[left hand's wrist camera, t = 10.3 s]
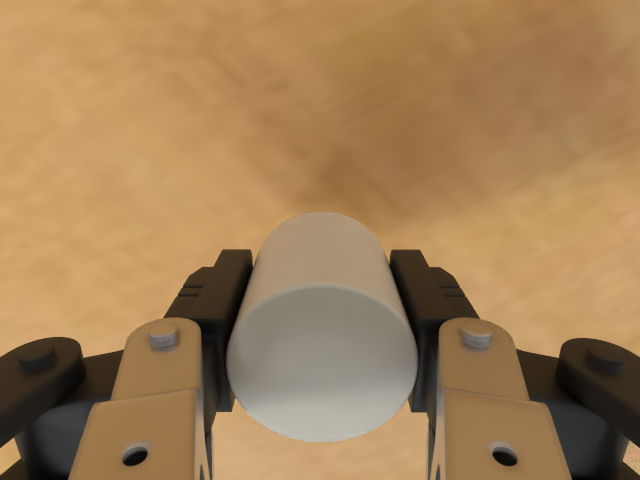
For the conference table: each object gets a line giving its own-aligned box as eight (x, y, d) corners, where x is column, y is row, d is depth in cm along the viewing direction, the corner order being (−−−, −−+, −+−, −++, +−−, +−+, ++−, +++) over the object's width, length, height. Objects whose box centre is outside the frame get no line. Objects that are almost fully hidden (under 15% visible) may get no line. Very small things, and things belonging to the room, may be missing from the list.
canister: (342, 349, 13) (351, 468, 9) (232, 293, 13) (192, 397, 9) (414, 253, 12) (459, 342, 8) (296, 185, 11) (284, 247, 8)
